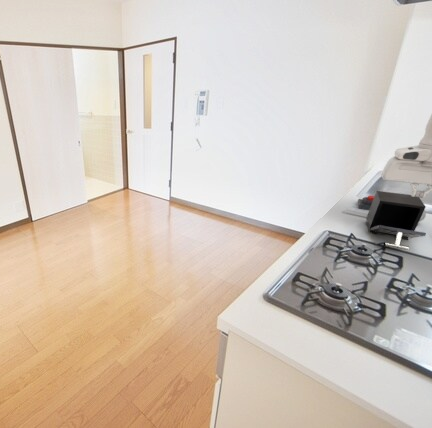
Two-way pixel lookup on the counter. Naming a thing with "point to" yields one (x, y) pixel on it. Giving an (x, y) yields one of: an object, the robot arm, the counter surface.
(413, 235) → the oven door
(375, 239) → the counter surface
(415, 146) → the robot arm
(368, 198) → the release button
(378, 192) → the oven
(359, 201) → the release box
